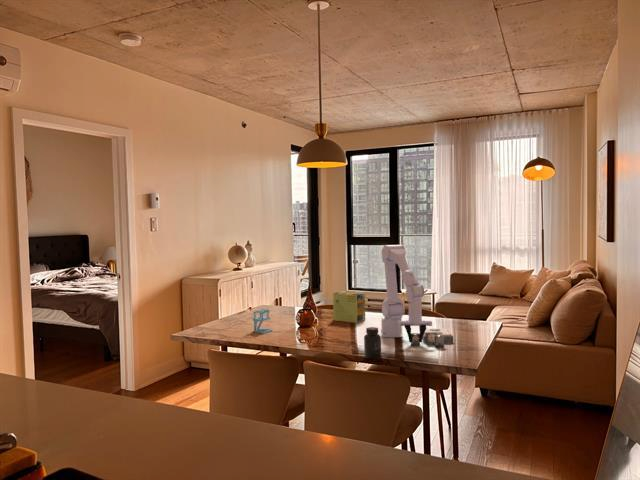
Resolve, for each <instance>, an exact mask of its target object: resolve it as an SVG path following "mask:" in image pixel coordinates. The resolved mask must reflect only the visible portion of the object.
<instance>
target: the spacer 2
mask: <svg viewBox="0 0 640 480" xmlns="http://www.w3.org/2000/svg"><path fill="white" fill-rule="evenodd" d="M434 348H437V349H443V348H445V343H444V335H439V334H438V335H435V344H434Z"/></svg>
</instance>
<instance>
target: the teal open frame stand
mask: <svg viewBox="0 0 640 480" xmlns="http://www.w3.org/2000/svg"><path fill="white" fill-rule="evenodd" d="M256 313H258V314H259V316H257V315H256ZM252 314H253V316H254V317H252V321H253V333H254V332H255V333H258V334H262V335H265V334H269V333H271V332H273V328H272V329H271V328H261V326H262V324H263V322H265V321H268V320H271V317H270V316H269V315H270V309H268V308H261V309H257V310H255V311H253V313H252ZM264 314H266V316H264ZM257 324H258V325H257Z"/></svg>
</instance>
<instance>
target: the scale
mask: <svg viewBox="0 0 640 480" xmlns="http://www.w3.org/2000/svg"><path fill="white" fill-rule="evenodd" d="M438 334H439V335H444V344H454V335H452V333H451V332H450V330H448V329H446V328H426V330H425V332H424V335H423V338H422V343H424V344H426V345H435V335H438Z"/></svg>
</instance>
